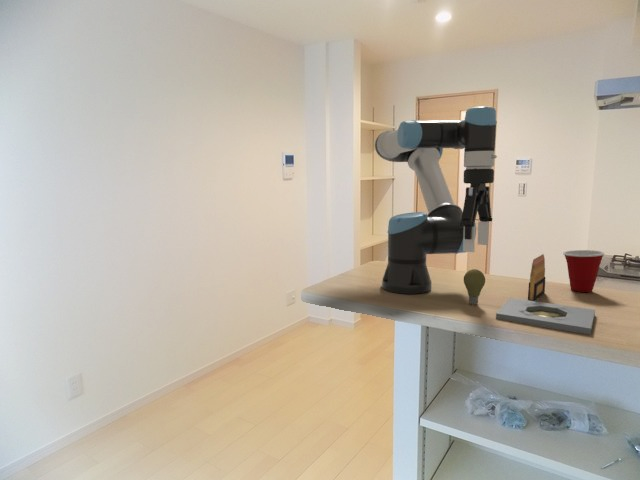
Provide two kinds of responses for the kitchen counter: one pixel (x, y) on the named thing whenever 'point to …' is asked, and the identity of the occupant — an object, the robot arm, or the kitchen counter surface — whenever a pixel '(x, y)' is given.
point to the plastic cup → (583, 268)
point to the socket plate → (548, 315)
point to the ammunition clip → (537, 279)
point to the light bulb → (474, 284)
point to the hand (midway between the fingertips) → (476, 248)
